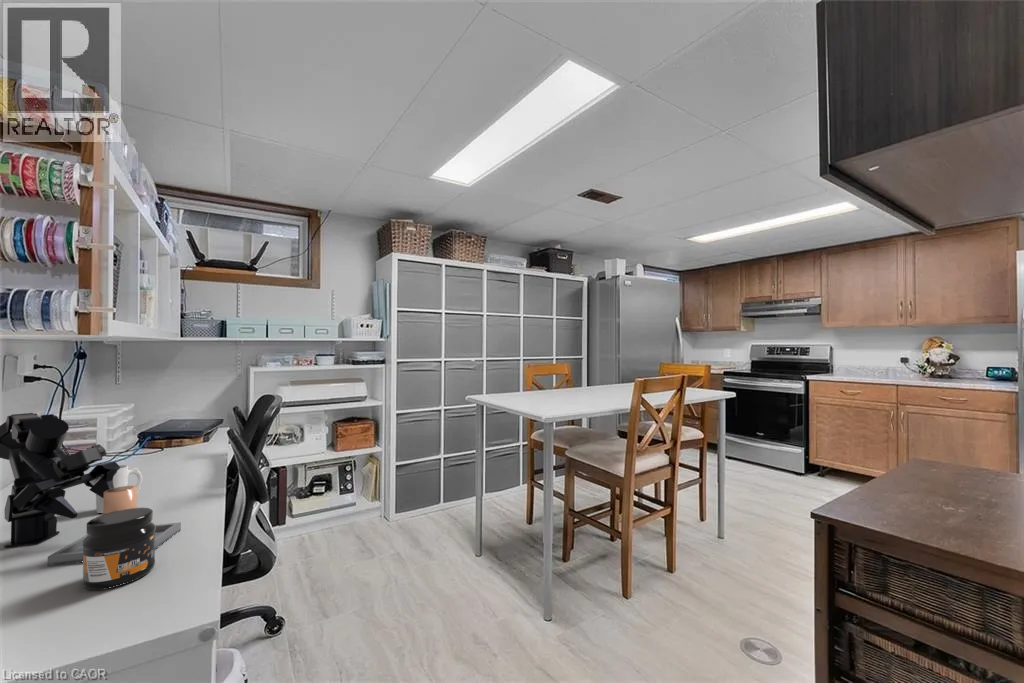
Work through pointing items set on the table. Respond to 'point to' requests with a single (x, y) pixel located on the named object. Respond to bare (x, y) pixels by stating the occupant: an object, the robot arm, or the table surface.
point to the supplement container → (118, 548)
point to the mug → (120, 483)
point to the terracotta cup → (120, 499)
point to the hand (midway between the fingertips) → (96, 509)
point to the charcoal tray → (75, 549)
